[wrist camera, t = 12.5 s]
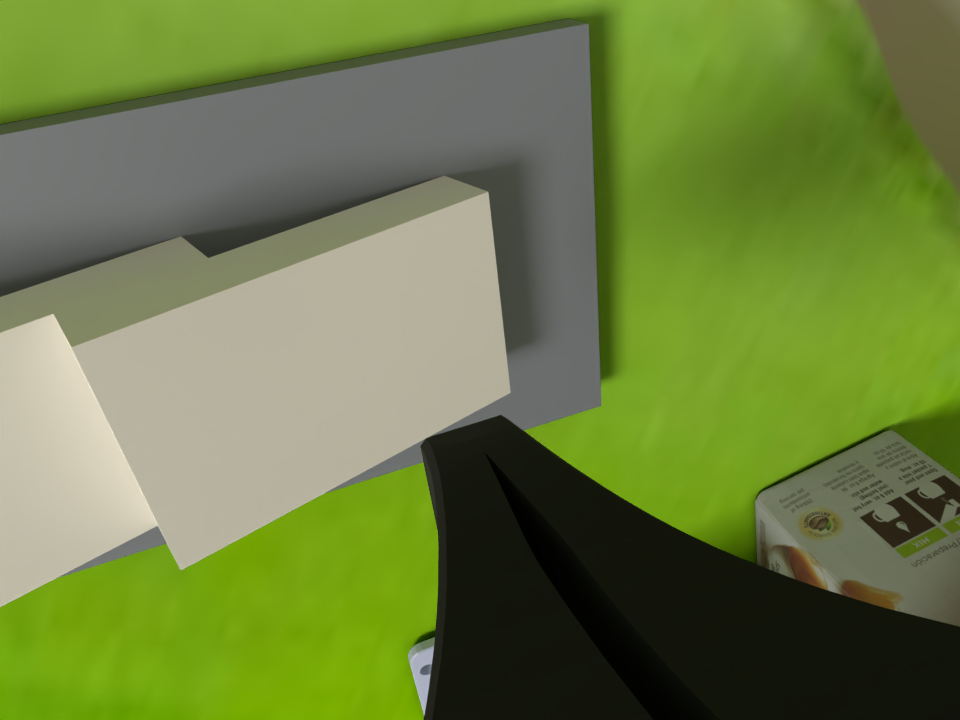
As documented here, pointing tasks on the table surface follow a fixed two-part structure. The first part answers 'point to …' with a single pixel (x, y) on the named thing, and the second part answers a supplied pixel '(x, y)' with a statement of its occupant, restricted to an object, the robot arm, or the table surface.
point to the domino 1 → (63, 431)
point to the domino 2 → (296, 359)
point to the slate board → (342, 186)
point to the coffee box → (869, 528)
